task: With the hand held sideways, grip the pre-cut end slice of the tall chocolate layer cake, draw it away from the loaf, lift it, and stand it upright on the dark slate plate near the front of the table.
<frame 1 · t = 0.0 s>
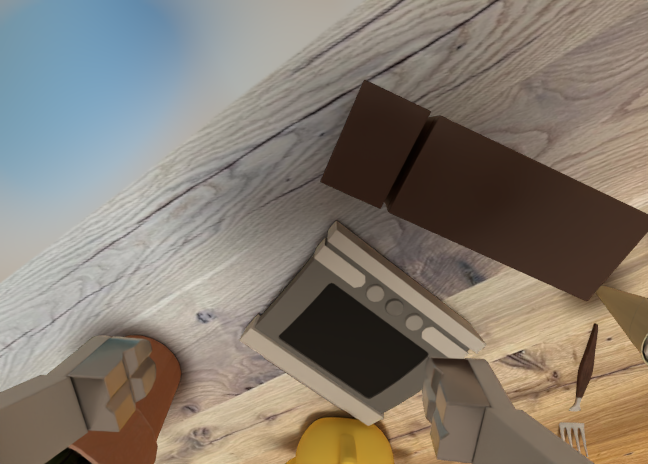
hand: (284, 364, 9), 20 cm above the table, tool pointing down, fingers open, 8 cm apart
cake slice: (365, 140, 26), on the table
potted plant: (146, 364, 36), on the table
ice cream cone: (592, 284, 29), on the table
cake loaf: (465, 186, 27), on the table
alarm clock: (353, 325, 32), on the table
fork: (576, 383, 33), on the table
teapot: (339, 447, 38), on the table
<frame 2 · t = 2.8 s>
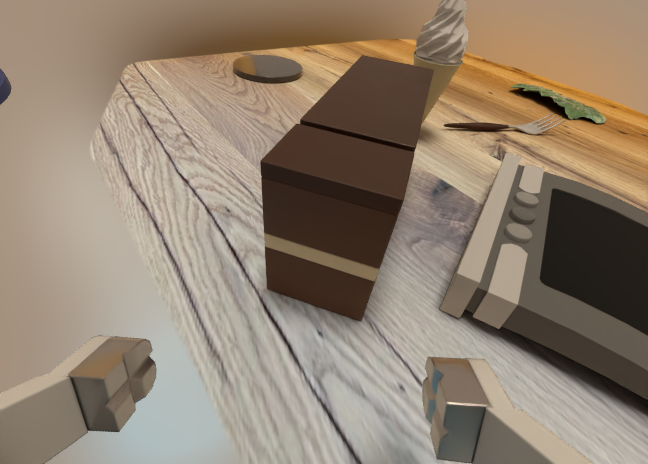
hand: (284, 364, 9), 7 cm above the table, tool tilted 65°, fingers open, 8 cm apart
cake slice: (323, 279, 20), on the table
lettuce leaf: (556, 104, 50), on the table
ice cream cone: (413, 133, 37), on the table
cake loaf: (358, 197, 27), on the table
plate: (268, 70, 47), on the table
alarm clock: (581, 283, 22), on the table
fork: (497, 131, 40), on the table
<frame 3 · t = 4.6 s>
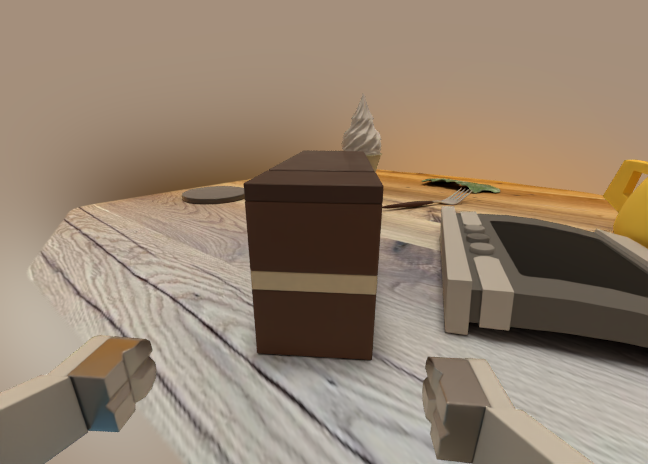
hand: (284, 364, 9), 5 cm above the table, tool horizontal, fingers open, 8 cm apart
cake slice: (317, 332, 18), on the table
lettuce leaf: (460, 187, 61), on the table
ice cream cone: (358, 217, 41), on the table
cake loaf: (327, 263, 27), on the table
plate: (216, 196, 52), on the table
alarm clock: (553, 288, 23), on the table
fork: (425, 207, 47), on the table
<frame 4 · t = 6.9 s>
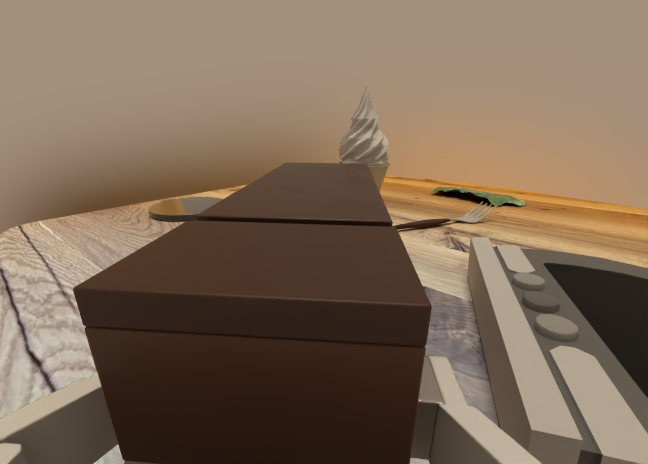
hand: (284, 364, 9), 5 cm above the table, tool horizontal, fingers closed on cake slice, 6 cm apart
lettuce leaf: (476, 198, 53), on the table
ice cream cone: (360, 241, 33), on the table
cake loaf: (316, 327, 19), on the table
plate: (190, 210, 44), on the table
fork: (441, 226, 39), on the table
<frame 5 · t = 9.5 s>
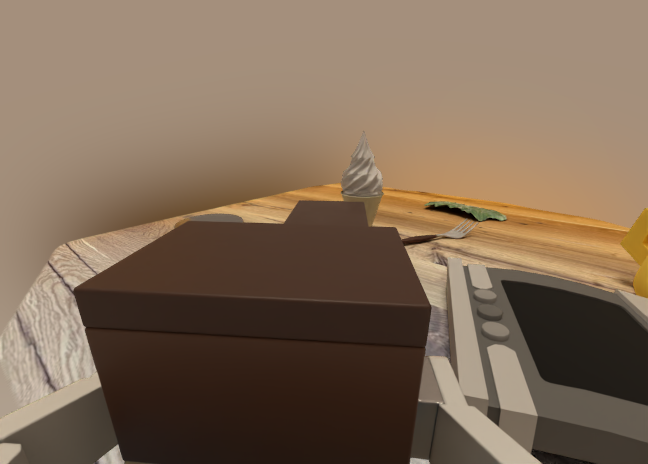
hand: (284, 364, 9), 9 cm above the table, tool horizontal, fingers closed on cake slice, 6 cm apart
lettuce leaf: (464, 212, 59), on the table
ice cream cone: (359, 257, 39), on the table
cake loaf: (325, 331, 25), on the table
plate: (210, 227, 50), on the table
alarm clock: (573, 369, 21), on the table
fork: (429, 241, 44), on the table
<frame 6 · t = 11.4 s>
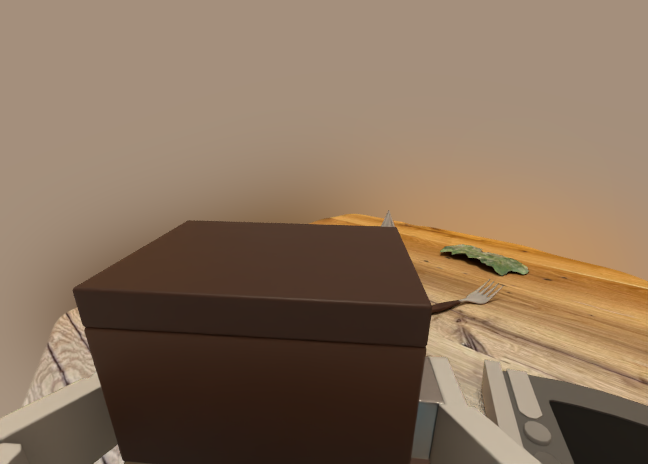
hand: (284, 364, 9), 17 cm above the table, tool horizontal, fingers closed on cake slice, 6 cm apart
lettuce leaf: (482, 260, 57), on the table
fork: (452, 307, 42), on the table
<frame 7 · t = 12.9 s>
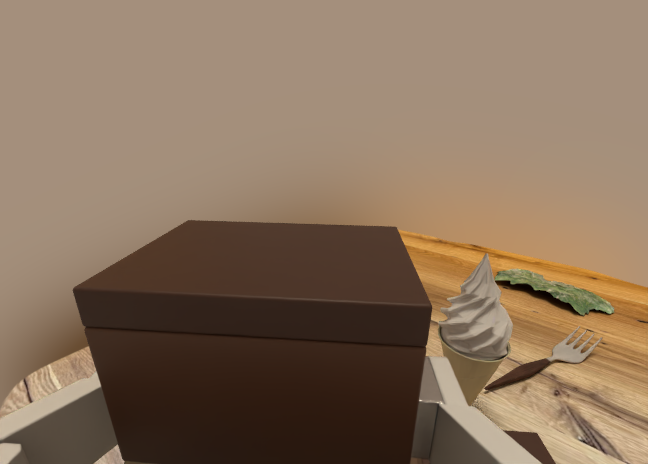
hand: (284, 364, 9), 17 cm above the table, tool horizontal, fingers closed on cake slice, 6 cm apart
lettuce leaf: (548, 291, 46), on the table
ice cream cone: (457, 418, 26), on the table
fork: (539, 369, 32), on the table
when the fingers open (6 cm above the table, at t = 19.9 s): cake slice stays where it is, resting on plate.
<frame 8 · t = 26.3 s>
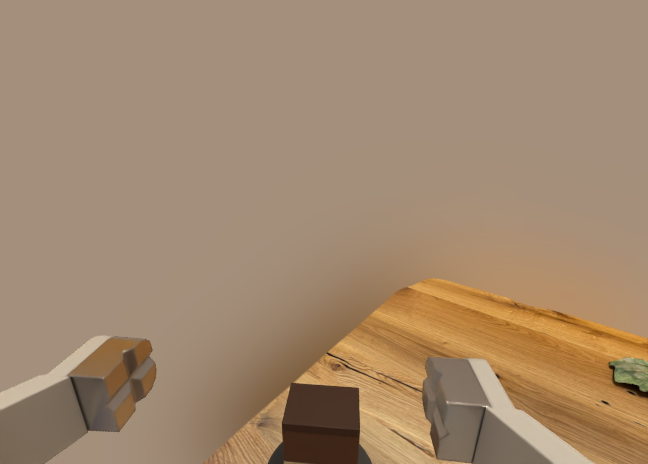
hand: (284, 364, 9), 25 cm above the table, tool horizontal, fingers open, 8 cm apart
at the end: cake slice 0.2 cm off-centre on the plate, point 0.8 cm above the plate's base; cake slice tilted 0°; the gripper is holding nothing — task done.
